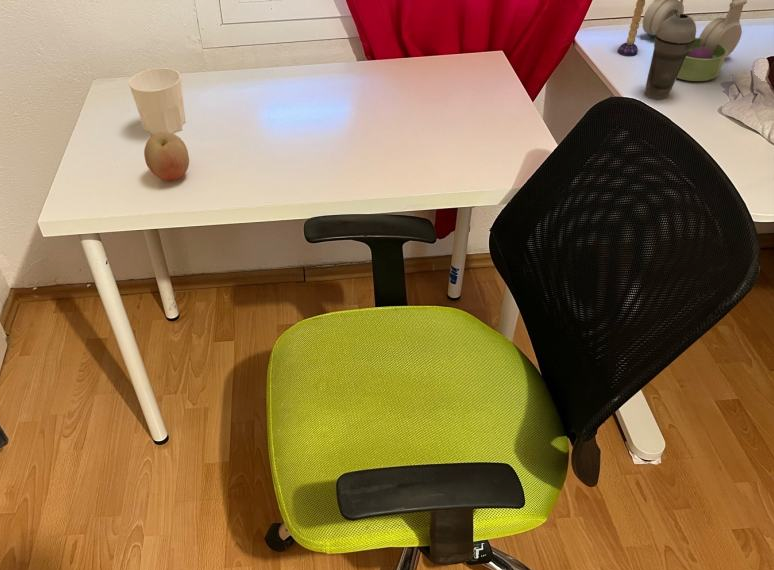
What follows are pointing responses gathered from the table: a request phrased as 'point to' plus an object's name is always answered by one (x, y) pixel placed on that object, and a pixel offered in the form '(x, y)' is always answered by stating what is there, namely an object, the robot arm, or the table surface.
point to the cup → (159, 99)
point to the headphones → (713, 33)
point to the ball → (700, 53)
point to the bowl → (702, 65)
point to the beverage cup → (669, 53)
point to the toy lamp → (632, 32)
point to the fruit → (166, 156)
